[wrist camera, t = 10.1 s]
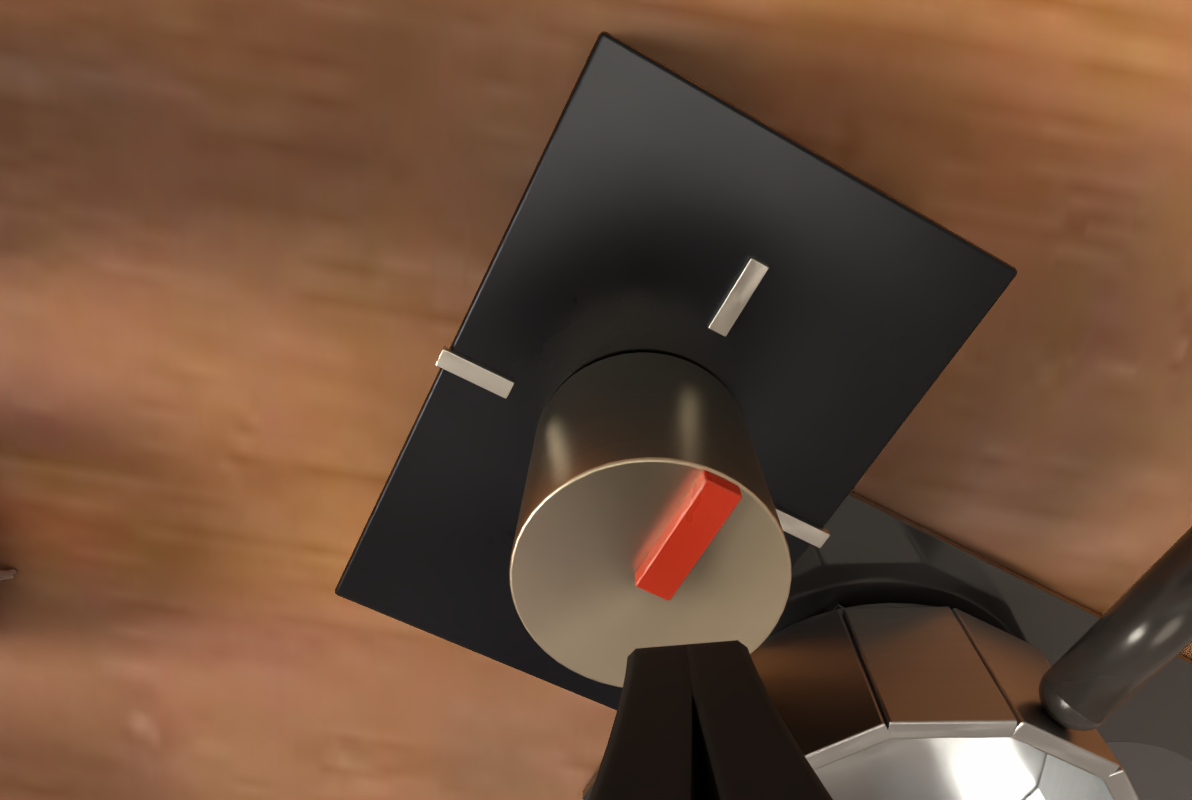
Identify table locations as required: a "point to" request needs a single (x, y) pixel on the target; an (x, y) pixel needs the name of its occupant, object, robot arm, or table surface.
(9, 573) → the fruit
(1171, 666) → the hob
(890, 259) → the box
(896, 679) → the saucepan
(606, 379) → the knob
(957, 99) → the table surface
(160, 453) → the table surface
